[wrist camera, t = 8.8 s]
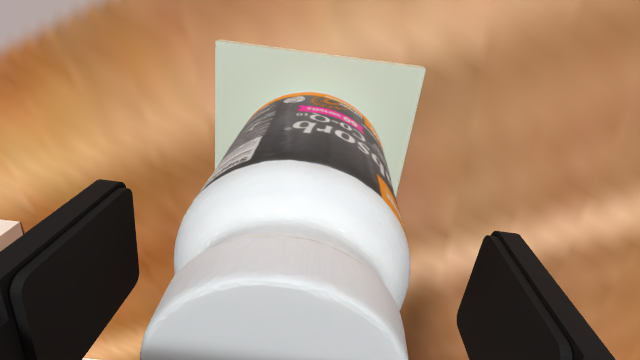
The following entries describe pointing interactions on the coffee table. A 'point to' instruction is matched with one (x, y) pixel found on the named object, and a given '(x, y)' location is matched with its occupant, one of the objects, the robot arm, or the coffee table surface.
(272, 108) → the pill bottle
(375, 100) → the tile
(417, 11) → the coffee table surface
